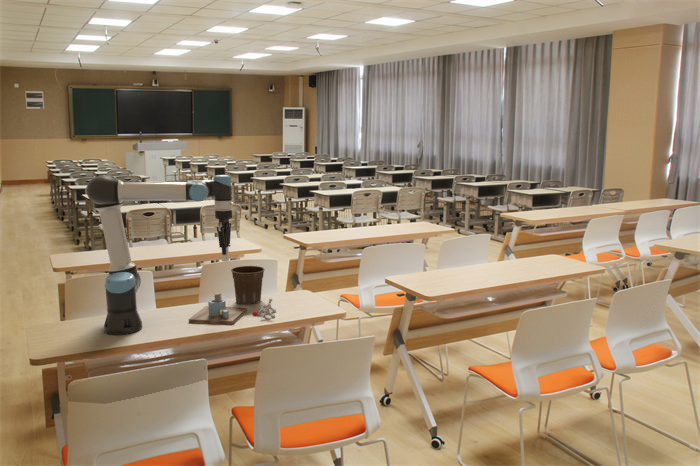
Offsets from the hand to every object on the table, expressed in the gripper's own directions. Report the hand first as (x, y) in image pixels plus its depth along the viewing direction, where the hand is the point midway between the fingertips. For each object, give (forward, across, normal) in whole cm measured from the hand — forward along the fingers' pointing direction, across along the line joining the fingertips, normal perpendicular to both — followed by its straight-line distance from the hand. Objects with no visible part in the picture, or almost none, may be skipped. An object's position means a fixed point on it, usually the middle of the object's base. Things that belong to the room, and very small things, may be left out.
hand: (225, 261), depth 269 cm
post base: (+24, -6, +2) cm, 25 cm away
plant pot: (+25, +20, -4) cm, 32 cm away
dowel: (+23, -12, -1) cm, 26 cm away
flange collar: (+23, -8, 0) cm, 24 cm away
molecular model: (+25, -1, -18) cm, 31 cm away
